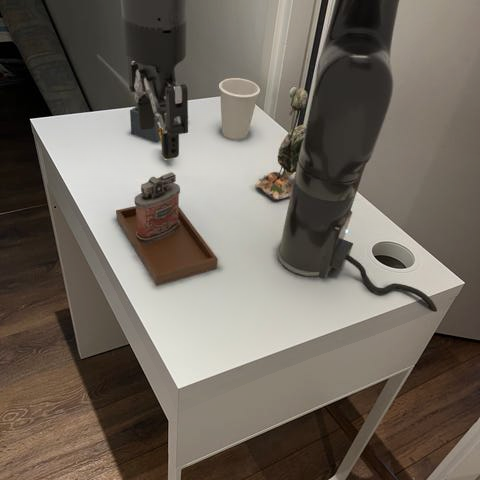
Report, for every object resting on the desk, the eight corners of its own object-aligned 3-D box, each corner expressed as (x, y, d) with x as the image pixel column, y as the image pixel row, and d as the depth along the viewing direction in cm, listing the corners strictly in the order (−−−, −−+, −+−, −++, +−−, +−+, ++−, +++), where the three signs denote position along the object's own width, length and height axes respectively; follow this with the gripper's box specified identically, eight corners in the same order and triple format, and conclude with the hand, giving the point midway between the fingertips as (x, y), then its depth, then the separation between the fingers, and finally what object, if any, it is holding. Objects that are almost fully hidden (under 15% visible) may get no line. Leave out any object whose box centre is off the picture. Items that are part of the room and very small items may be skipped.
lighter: (144, 246, 79) (142, 192, 72) (132, 235, 81) (128, 182, 74) (183, 227, 84) (185, 175, 76) (170, 218, 85) (171, 165, 78)
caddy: (184, 122, 109) (185, 100, 106) (156, 143, 102) (155, 119, 99) (160, 114, 111) (160, 91, 107) (131, 133, 104) (129, 110, 100)
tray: (216, 268, 79) (217, 258, 77) (156, 285, 75) (156, 275, 73) (172, 207, 88) (172, 197, 87) (116, 220, 84) (115, 210, 83)
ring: (177, 167, 97) (178, 128, 91) (161, 168, 96) (160, 129, 90) (170, 149, 101) (171, 110, 95) (155, 150, 100) (154, 111, 94)
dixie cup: (236, 120, 113) (240, 74, 105) (261, 136, 109) (268, 90, 102) (207, 129, 108) (210, 82, 101) (233, 146, 105) (238, 99, 97)
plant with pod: (316, 190, 97) (343, 86, 82) (270, 205, 92) (290, 96, 77) (291, 169, 101) (312, 66, 86) (245, 182, 96) (259, 75, 81)
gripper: (103, -4, 61) (115, 123, 73) (147, 38, 53) (153, 173, 65) (160, -7, 64) (162, 115, 76) (210, 32, 56) (204, 162, 68)
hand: (158, 142), depth 71 cm, fingers open, 8 cm apart
